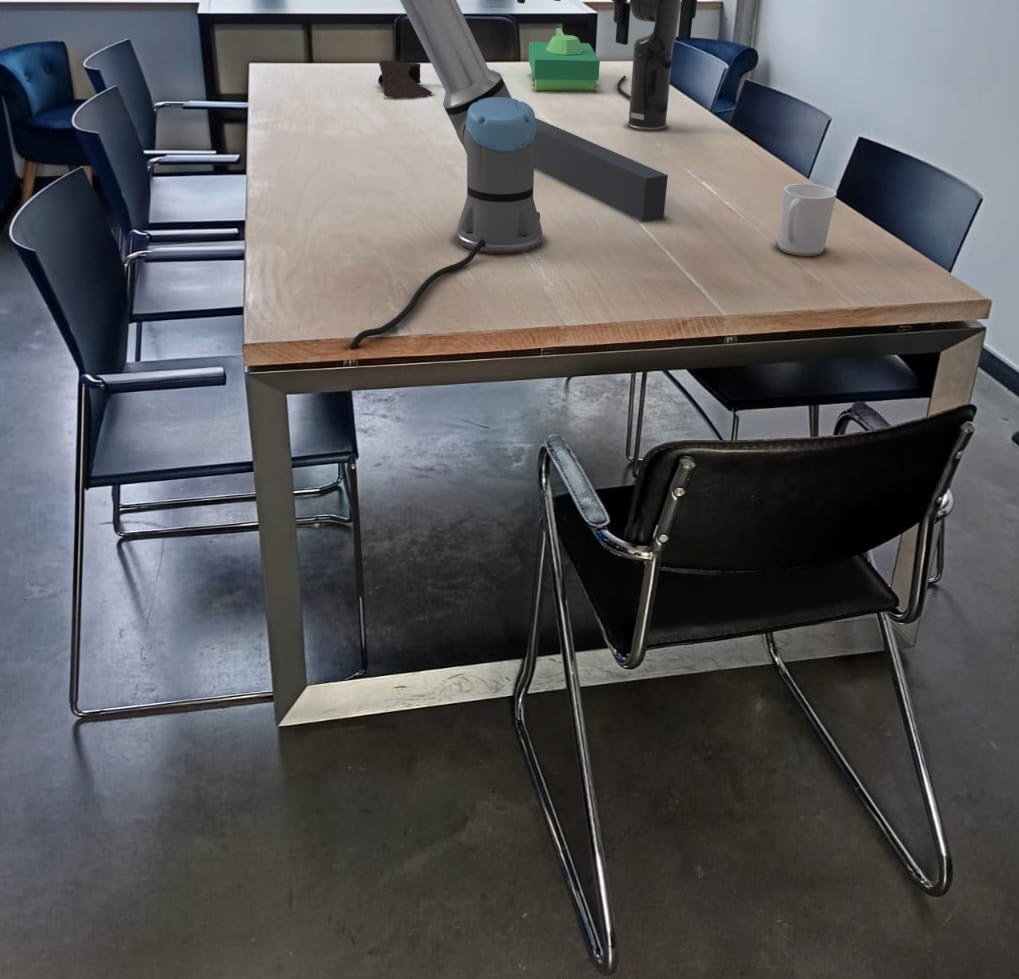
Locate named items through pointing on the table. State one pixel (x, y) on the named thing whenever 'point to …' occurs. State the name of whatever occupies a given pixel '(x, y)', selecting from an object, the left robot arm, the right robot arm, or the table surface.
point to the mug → (805, 218)
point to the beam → (600, 172)
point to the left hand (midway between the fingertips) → (653, 41)
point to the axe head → (401, 79)
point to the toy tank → (563, 64)
